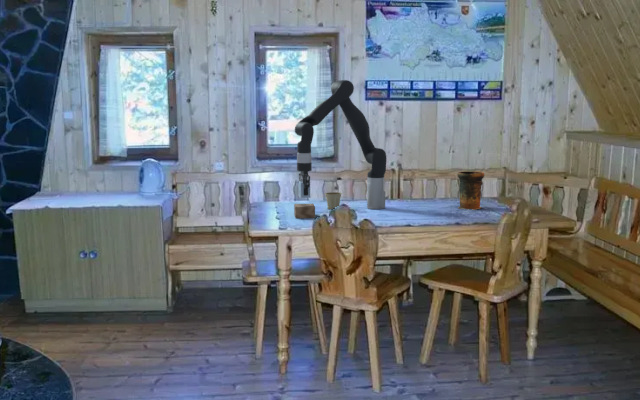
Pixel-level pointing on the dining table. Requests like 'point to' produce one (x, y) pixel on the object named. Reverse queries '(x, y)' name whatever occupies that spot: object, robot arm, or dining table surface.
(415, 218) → the dining table surface
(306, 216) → the walnut box
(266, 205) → the dining table surface
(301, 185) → the light grey block
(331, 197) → the flower pot
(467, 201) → the vessel
